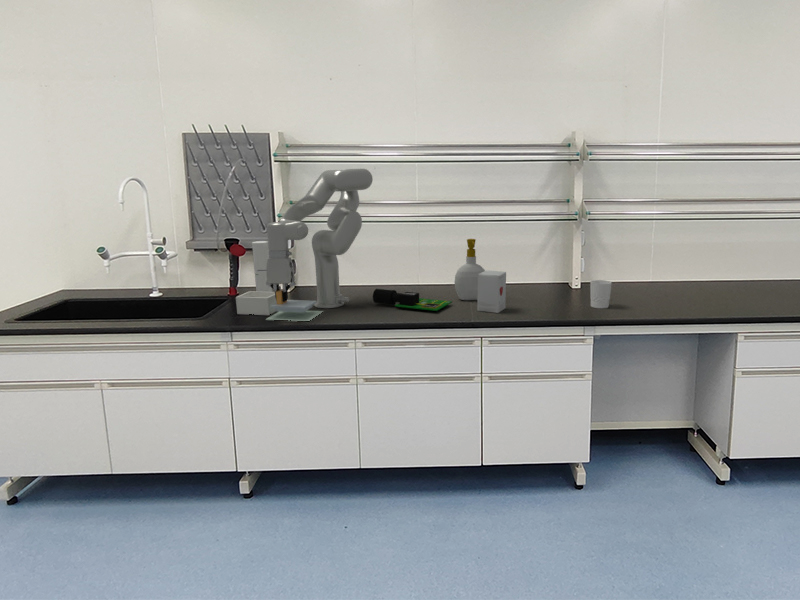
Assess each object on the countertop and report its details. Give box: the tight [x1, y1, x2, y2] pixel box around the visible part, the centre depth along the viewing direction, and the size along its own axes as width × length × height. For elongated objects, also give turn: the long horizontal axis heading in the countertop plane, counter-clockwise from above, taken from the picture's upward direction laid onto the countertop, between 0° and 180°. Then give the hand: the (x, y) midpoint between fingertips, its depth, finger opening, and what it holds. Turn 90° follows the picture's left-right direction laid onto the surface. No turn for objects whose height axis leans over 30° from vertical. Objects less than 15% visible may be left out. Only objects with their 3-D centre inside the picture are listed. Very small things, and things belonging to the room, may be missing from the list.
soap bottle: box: [454, 238, 486, 301], centre depth 235 cm, size 14×9×26 cm, turn 96°
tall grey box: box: [251, 240, 273, 292], centre depth 252 cm, size 7×7×25 cm
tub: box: [235, 290, 277, 316], centre depth 227 cm, size 14×11×7 cm
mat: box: [265, 310, 324, 322], centre depth 219 cm, size 18×15×1 cm
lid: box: [270, 288, 318, 312], centre depth 217 cm, size 14×11×7 cm
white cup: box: [589, 279, 612, 309], centre depth 220 cm, size 8×8×10 cm
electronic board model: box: [372, 288, 453, 312], centre depth 229 cm, size 30×7×15 cm
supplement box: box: [476, 270, 507, 314], centre depth 219 cm, size 9×9×15 cm
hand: (281, 300), depth 218 cm, fingers closed on lid
